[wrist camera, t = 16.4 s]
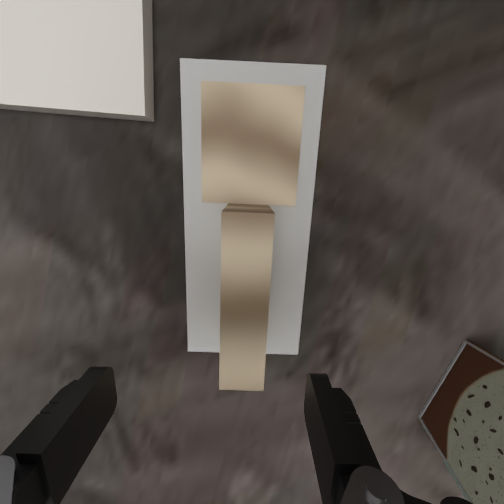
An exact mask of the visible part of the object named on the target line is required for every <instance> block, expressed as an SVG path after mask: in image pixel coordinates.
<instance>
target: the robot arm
mask: <svg viewBox="0 0 504 504" xmlns="http://www.w3.org/2000/svg"><path fill="white" fill-rule="evenodd" d="M116 403H117V394H116V386H115V379H114V372H113V369H112V368H111V367H90V368H89V369H88V370H87V371H86V372H85V373H84V375H83V376H82V377H81V378H80V379H79V380H74V381H72V382H71V383H69V384H68V385H66V386H65V387H64V388H62V389H61V390H60V391H59V392H58V393H57V394H56V395H55V396H54V397H53V398H52V399H51V400H50V402H49V404H47V405H46V406H45V407H44V408H43V409H42V410H41V411H40V414H38V415H37V416H36V417H35V418H34V419H33V420H32V421H31V422H30V423H29V425H28V426H27V427H26V428H25V429H24V430H23V431H22V432H21V433H20V434H19V436H18V437H17V438H16V439H15V440H14V441H13V442H12V443H11V444H10V445H9V446H8V448H7V449H6V450H5V451H4V452H3V453H2V454H1V455H0V504H60V502H61V501H62V499H63V497H64V496H65V494H66V492H67V491H68V489H69V487H70V486H71V484H72V482H73V481H74V479H75V477H76V476H77V474H78V472H79V470H80V469H81V467H82V465H83V464H84V462H85V460H86V459H87V457H88V455H89V454H90V452H91V450H92V449H93V447H94V445H95V444H96V442H97V440H98V439H99V437H100V435H101V434H102V432H103V430H104V428H105V427H106V425H107V423H108V422H109V420H110V418H111V417H112V415H113V413H114V411H115V408H116ZM304 414H305V422H306V426H307V431H308V436H309V441H310V445H311V450H312V455H313V460H314V465H315V469H316V474H317V479H318V484H319V488H320V493H321V498H322V503H323V504H431V503H429V502H426V501H423V500H420V499H418V498H415V497H413V496H410V495H408V494H406V493H405V492H403V491H401V490H400V489H399V487H398V486H397V485H396V483H395V482H394V481H393V480H392V479H391V478H390V477H389V476H388V475H387V474H386V473H384V472H383V471H382V469H381V467H380V465H379V463H378V461H377V458H376V456H375V454H374V452H373V449H372V447H371V445H370V442H369V440H368V438H367V435H366V433H365V431H364V429H363V426H362V424H361V422H360V419H359V417H358V415H357V414H356V410H355V408H354V406H353V403H352V401H351V399H350V398H349V397H348V395H347V394H346V393H345V392H344V391H343V390H342V389H341V388H332V386H331V384H330V381H329V378H328V376H327V374H316V373H308V374H307V381H306V391H305V401H304ZM440 504H473V503H471V502H469V501H467V500H465V499H462V498H459V497H446V498H444V499H443V500H442V501H441V503H440Z"/></svg>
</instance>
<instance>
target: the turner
mask: <svg viewBox="0 0 504 504" xmlns="http://www.w3.org/2000/svg"><path fill="white" fill-rule="evenodd" d="M305 87H306V86H297V85H278V84H258V83H238V82H218V81H201V153H202V202H208V203H229V204H228V205H227V206H226V207H225V208H224V209H223V210H222V211H221V283H220V364H219V390H251V391H263V390H264V375H265V359H266V344H267V329H268V313H269V298H270V283H271V268H272V252H273V237H274V222H275V213H274V212H273V210H272V209H271V207H270V206H269V205H278V206H295V205H296V193H297V181H298V169H299V158H300V146H301V134H302V122H303V110H304V99H305Z"/></svg>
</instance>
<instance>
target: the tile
mask: <svg viewBox="0 0 504 504" xmlns="http://www.w3.org/2000/svg"><path fill="white" fill-rule="evenodd" d="M0 109H8V110H20V111H32V112H44V113H56V114H68V115H80V116H92V117H104V118H116V119H128V120H139V121H151V122H154V83H153V29H152V0H0Z"/></svg>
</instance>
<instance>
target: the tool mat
mask: <svg viewBox="0 0 504 504" xmlns="http://www.w3.org/2000/svg"><path fill="white" fill-rule="evenodd" d="M325 74H326V65H311V64H290V63H270V62H249V61H228V60H207V59H187V58H180V79H181V116H182V152H183V188H184V225H185V261H186V297H187V334H188V351H193V352H220V283H221V211H222V210H223V209H224V208H225V207H226V206H227V205H228V204H229V203H208V202H202V153H201V81H218V82H238V83H258V84H278V85H297V86H306V87H305V99H304V110H303V122H302V134H301V146H300V158H299V169H298V181H297V193H296V205H295V206H278V205H269V206H270V207H271V209H272V210H273V212H274V213H275V222H274V237H273V252H272V268H271V283H270V298H269V313H268V329H267V344H266V354H293V355H298V348H299V338H300V328H301V318H302V308H303V298H304V287H305V277H306V267H307V257H308V247H309V237H310V226H311V216H312V206H313V196H314V186H315V175H316V165H317V155H318V145H319V135H320V125H321V114H322V104H323V94H324V84H325Z"/></svg>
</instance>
